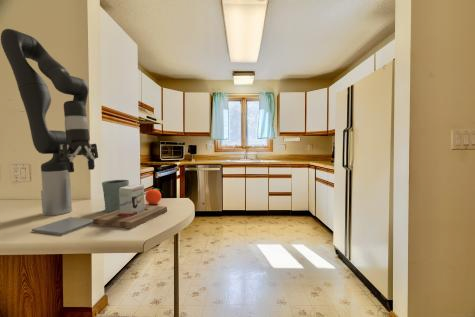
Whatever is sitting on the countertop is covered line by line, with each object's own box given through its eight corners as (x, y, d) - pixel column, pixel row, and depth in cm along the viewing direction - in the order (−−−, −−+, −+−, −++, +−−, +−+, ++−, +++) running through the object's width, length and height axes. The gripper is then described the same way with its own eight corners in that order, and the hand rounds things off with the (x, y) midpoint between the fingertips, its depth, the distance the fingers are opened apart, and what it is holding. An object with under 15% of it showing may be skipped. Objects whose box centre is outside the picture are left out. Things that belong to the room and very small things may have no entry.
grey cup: (104, 214, 96) (102, 184, 95) (102, 208, 104) (100, 180, 103) (132, 210, 101) (130, 181, 100) (127, 205, 110) (126, 178, 109)
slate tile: (31, 231, 77) (31, 229, 77) (70, 219, 90) (70, 217, 90) (62, 235, 73) (61, 232, 73) (98, 221, 86) (98, 219, 86)
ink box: (131, 221, 86) (130, 188, 85) (119, 220, 87) (118, 188, 86) (145, 214, 94) (144, 184, 93) (134, 214, 95) (133, 184, 94)
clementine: (161, 201, 116) (160, 186, 116) (165, 204, 110) (165, 188, 110) (143, 203, 112) (143, 188, 111) (147, 206, 106) (147, 190, 105)
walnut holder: (93, 224, 83) (92, 218, 83) (134, 209, 102) (133, 204, 102) (131, 228, 79) (131, 222, 78) (167, 211, 98) (166, 206, 98)
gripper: (86, 130, 101) (90, 169, 102) (51, 129, 88) (56, 173, 88) (100, 128, 99) (104, 168, 100) (66, 126, 85) (71, 172, 86)
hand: (81, 170), depth 94 cm, fingers open, 8 cm apart
